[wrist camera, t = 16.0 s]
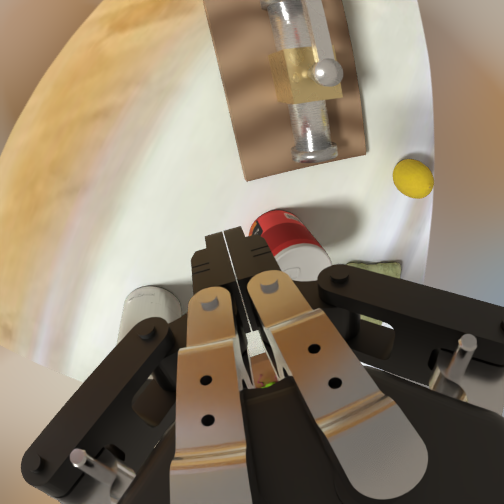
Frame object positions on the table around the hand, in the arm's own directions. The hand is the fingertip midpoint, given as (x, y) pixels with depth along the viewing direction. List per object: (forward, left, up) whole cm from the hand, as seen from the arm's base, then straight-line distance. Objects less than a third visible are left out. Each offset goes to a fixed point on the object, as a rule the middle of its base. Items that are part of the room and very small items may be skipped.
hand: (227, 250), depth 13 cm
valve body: (+6, -13, -27) cm, 31 cm away
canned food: (-15, -7, -27) cm, 32 cm away
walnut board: (+6, -13, -27) cm, 31 cm away
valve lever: (+12, -13, -17) cm, 25 cm away
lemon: (-10, -28, -27) cm, 40 cm away
